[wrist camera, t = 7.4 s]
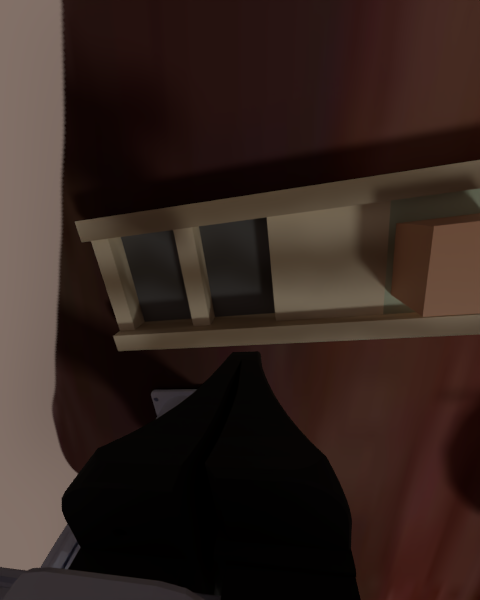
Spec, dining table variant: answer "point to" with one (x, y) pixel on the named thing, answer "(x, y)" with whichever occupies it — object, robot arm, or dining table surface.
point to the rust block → (438, 265)
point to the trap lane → (276, 263)
